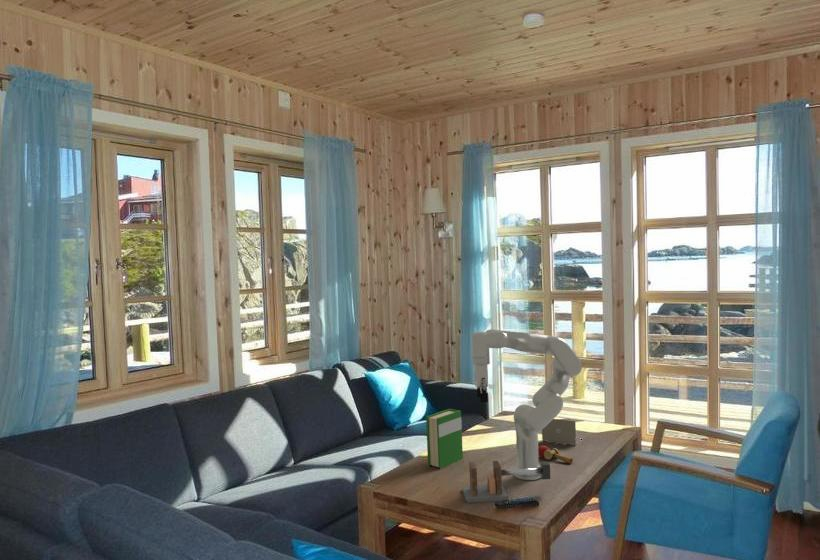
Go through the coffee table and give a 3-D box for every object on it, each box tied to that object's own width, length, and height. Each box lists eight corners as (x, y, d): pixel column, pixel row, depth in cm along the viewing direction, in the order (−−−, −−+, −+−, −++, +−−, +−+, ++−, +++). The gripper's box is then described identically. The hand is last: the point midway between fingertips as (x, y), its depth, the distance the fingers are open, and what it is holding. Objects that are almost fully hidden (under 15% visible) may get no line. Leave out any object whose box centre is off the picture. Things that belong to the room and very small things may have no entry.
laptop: (583, 439, 331) (582, 415, 330) (576, 446, 320) (575, 421, 319) (550, 436, 340) (549, 412, 340) (542, 442, 329) (541, 417, 329)
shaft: (547, 475, 262) (547, 461, 261) (550, 479, 258) (549, 464, 257) (499, 478, 261) (498, 464, 261) (500, 481, 257) (500, 467, 257)
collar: (493, 488, 262) (492, 474, 262) (495, 493, 256) (495, 479, 256) (487, 488, 262) (487, 474, 262) (489, 493, 256) (489, 479, 256)
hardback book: (440, 469, 292) (438, 418, 292) (428, 466, 297) (426, 416, 297) (462, 459, 306) (461, 410, 305) (450, 456, 311) (449, 408, 310)
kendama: (575, 464, 297) (542, 451, 309) (575, 452, 295) (542, 440, 307) (567, 471, 291) (534, 458, 304) (567, 459, 290) (533, 446, 302)
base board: (502, 487, 266) (502, 484, 266) (508, 500, 252) (508, 496, 252) (462, 489, 266) (462, 486, 266) (466, 502, 252) (466, 499, 252)
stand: (498, 487, 263) (497, 460, 263) (502, 494, 255) (501, 467, 255) (470, 488, 263) (469, 462, 262) (472, 495, 255) (471, 468, 254)
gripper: (469, 357, 281) (471, 395, 281) (475, 364, 263) (476, 404, 264) (486, 357, 281) (487, 394, 282) (492, 363, 264) (494, 403, 264)
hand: (482, 399), depth 273 cm, fingers open, 9 cm apart
